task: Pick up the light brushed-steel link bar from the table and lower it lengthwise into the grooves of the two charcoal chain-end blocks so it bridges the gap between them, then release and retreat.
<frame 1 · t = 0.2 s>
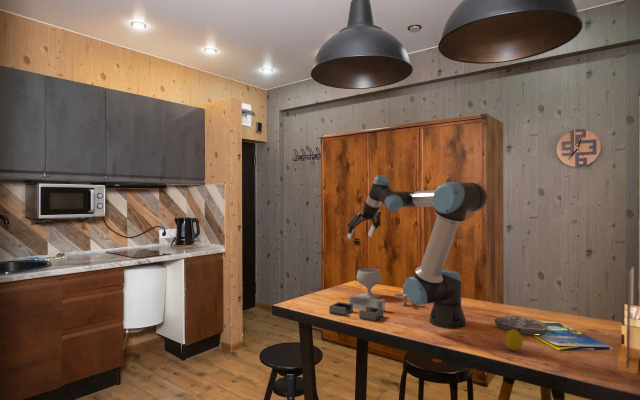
hand: (359, 236, 202), 35 cm above the table, tool tilted 35°, fingers open, 13 cm apart
pipe connector: (404, 305, 196), on the table
chalice: (369, 296, 214), on the table
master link: (366, 309, 190), on the table
mottled grey flat slab: (520, 329, 159), on the table
chain ends: (356, 314, 180), on the table
lemon: (513, 351, 135), on the table
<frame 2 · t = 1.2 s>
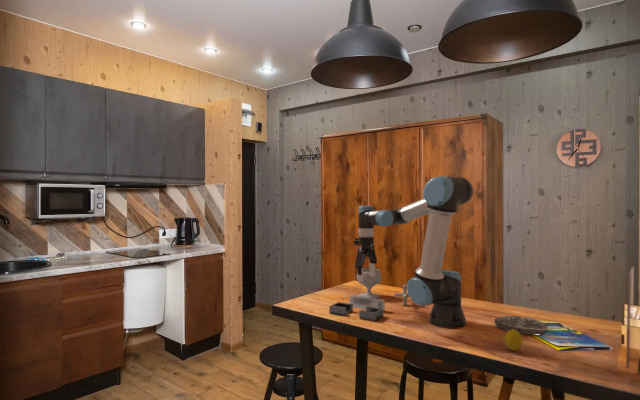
hand: (366, 278, 190), 15 cm above the table, tool pointing down, fingers open, 13 cm apart
nothing on the table moved.
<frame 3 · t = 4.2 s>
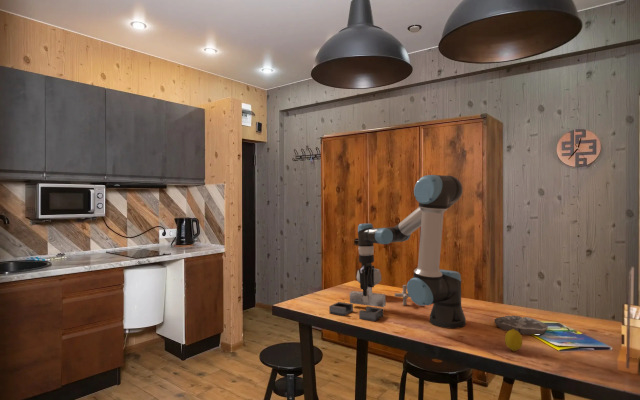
hand: (367, 301, 190), 4 cm above the table, tool pointing down, fingers closed on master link, 3 cm apart
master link: (367, 304, 190), point 2 cm above the table, touching gripper
everything else where it was.
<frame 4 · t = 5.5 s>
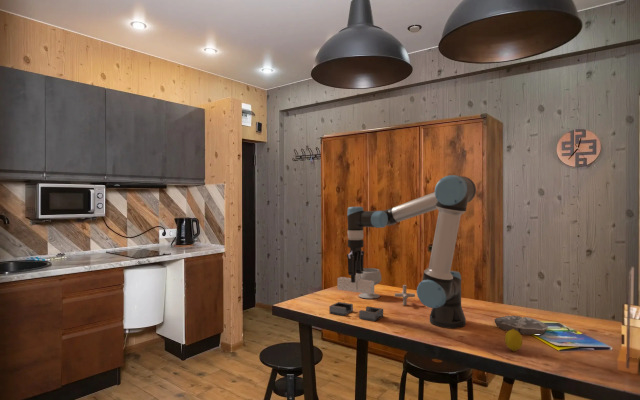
hand: (356, 288, 181), 13 cm above the table, tool pointing down, fingers closed on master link, 3 cm apart
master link: (355, 291, 181), point 11 cm above the table, touching gripper
everything else where it was.
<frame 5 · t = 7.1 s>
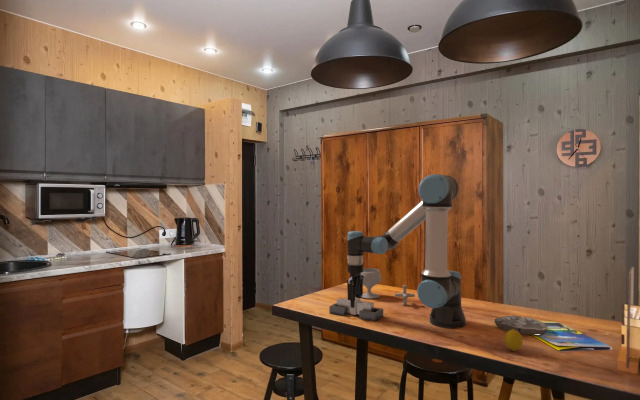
hand: (355, 312, 180), 1 cm above the table, tool pointing down, fingers closed on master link, 3 cm apart
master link: (355, 312, 180), point 1 cm above the table, touching chain ends, gripper
everything else where it was.
when the fingers open (0 cm above the table, at t = 7.4 s): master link stays where it is, resting on chain ends.
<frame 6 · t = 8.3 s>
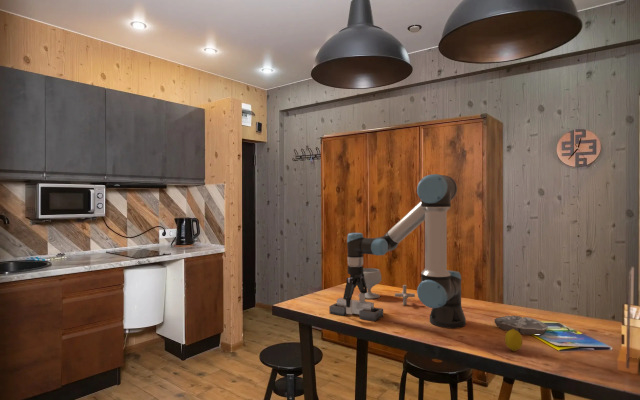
hand: (355, 310, 180), 2 cm above the table, tool pointing down, fingers open, 13 cm apart
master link: (355, 312, 180), point 1 cm above the table, touching chain ends
everything else where it was.
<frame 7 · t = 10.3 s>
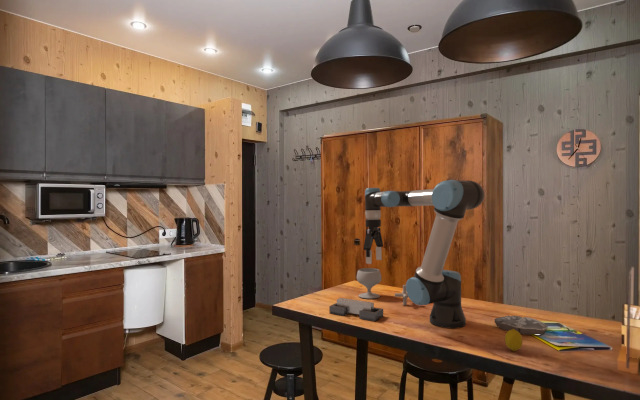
hand: (374, 261, 188), 24 cm above the table, tool pointing down, fingers open, 13 cm apart
nothing on the table moved.
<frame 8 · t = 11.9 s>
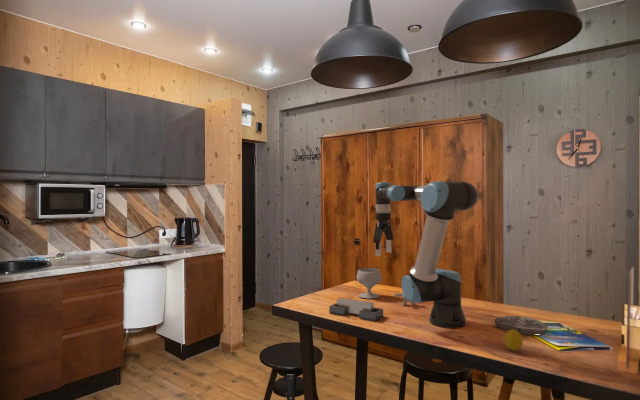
hand: (383, 254, 194), 27 cm above the table, tool pointing down, fingers open, 13 cm apart
nothing on the table moved.
at the end: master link 0.5 cm off-centre on the chain ends, point 1.0 cm above the chain ends's base; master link touching chain ends; the gripper is holding nothing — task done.
